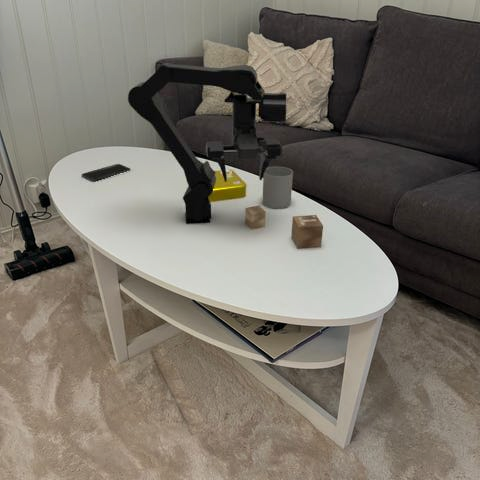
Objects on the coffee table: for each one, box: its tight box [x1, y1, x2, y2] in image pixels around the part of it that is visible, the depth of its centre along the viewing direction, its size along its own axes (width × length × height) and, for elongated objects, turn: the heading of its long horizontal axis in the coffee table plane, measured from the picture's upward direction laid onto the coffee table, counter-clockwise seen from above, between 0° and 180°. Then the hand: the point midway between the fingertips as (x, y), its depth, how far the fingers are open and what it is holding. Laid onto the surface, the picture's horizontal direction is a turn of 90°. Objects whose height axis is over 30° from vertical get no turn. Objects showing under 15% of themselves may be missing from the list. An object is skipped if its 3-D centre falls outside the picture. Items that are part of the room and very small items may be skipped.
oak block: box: [244, 205, 267, 230], centre depth 125 cm, size 4×4×5 cm
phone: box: [81, 163, 131, 183], centre depth 159 cm, size 8×1×15 cm
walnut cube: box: [290, 214, 324, 250], centre depth 116 cm, size 6×6×6 cm
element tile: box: [208, 169, 247, 203], centre depth 146 cm, size 15×15×5 cm
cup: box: [261, 166, 294, 210], centre depth 137 cm, size 8×8×10 cm
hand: (243, 180), depth 122 cm, fingers open, 9 cm apart
